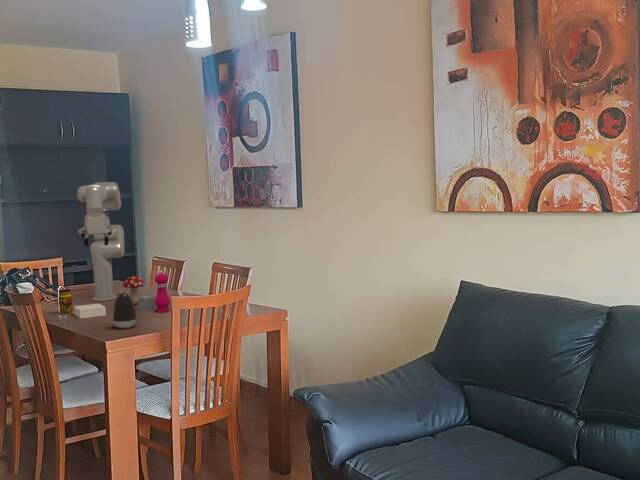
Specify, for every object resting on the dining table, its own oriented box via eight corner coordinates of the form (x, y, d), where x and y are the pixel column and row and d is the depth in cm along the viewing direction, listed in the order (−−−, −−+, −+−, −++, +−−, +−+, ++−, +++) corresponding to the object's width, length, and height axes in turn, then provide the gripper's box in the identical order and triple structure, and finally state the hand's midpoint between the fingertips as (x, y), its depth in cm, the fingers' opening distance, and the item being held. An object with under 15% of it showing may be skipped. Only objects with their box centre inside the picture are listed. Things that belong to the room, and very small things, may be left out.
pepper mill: (173, 310, 351) (171, 269, 350) (165, 313, 345) (163, 271, 343) (160, 309, 354) (158, 269, 352) (152, 312, 347) (150, 271, 345)
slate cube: (138, 309, 357) (137, 297, 357) (148, 307, 362) (148, 295, 361) (145, 310, 353) (144, 298, 353) (155, 308, 357) (154, 296, 357)
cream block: (74, 314, 348) (73, 306, 347) (99, 311, 354) (98, 303, 354) (80, 318, 338) (79, 310, 337) (106, 315, 344) (105, 306, 343)
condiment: (67, 315, 347) (65, 290, 345) (52, 315, 349) (51, 290, 348) (76, 312, 354) (75, 288, 352) (62, 312, 356) (60, 288, 355)
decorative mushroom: (125, 307, 363) (123, 277, 362) (122, 304, 373) (120, 275, 372) (147, 305, 367) (146, 276, 366) (144, 302, 378) (142, 273, 376)
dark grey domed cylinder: (130, 323, 322) (128, 290, 320) (141, 326, 314) (139, 292, 313) (108, 327, 315) (106, 293, 314) (119, 330, 307) (117, 295, 306)
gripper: (109, 210, 367) (111, 244, 368) (75, 212, 357) (77, 246, 358) (114, 210, 361) (116, 245, 362) (79, 212, 351) (81, 247, 352)
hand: (96, 245), depth 360 cm, fingers open, 9 cm apart
